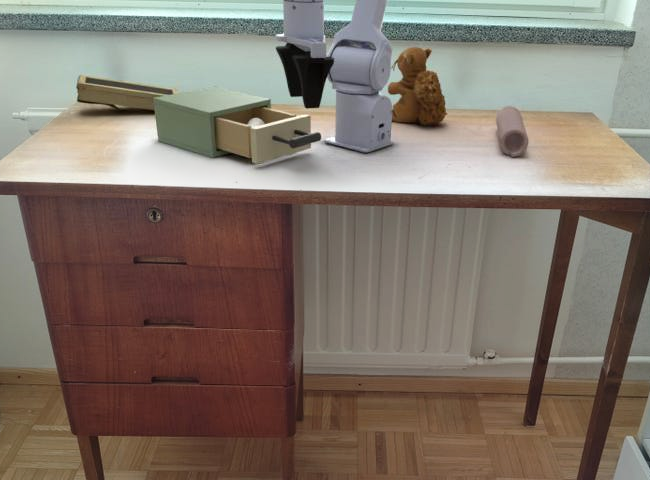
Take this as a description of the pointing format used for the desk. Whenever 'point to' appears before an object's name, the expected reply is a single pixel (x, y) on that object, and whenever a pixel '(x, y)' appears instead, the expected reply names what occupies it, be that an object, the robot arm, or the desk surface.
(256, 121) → the glue stick
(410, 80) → the stuffed squirrel
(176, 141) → the box
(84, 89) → the box
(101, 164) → the desk surface
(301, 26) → the robot arm
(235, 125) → the drawer
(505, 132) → the grey hollow tube piece
